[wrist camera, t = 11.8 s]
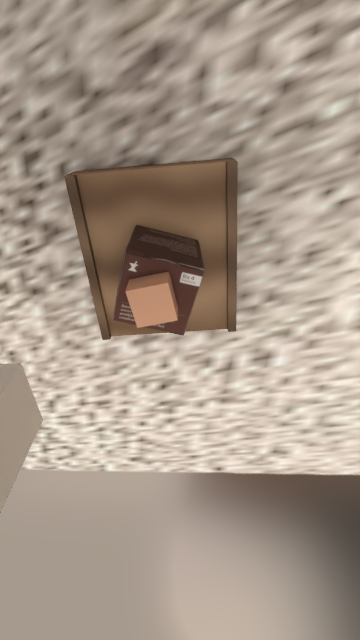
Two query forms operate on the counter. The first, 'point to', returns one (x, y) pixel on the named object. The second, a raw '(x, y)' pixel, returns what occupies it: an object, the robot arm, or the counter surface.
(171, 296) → the tan rounded cube
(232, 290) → the dock
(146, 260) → the box
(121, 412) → the counter surface
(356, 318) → the counter surface
